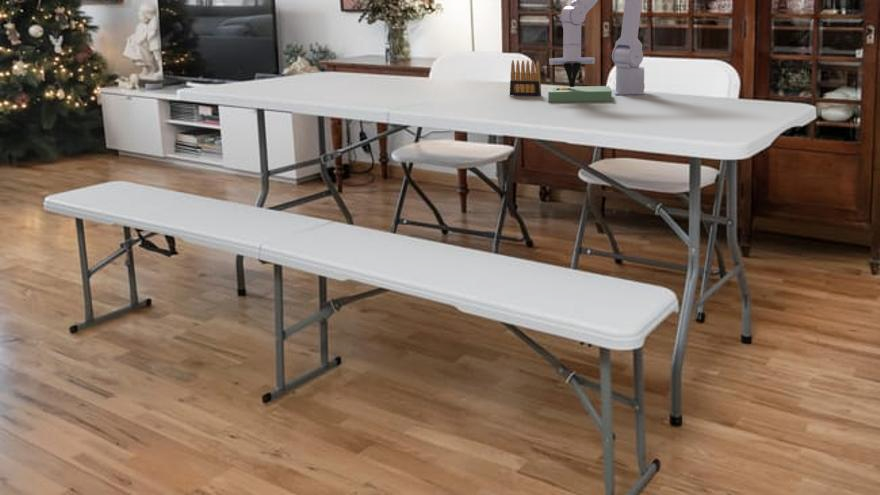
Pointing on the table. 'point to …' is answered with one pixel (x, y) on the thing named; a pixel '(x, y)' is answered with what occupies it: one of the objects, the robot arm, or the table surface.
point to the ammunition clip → (525, 80)
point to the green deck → (580, 94)
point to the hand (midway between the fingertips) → (571, 86)
